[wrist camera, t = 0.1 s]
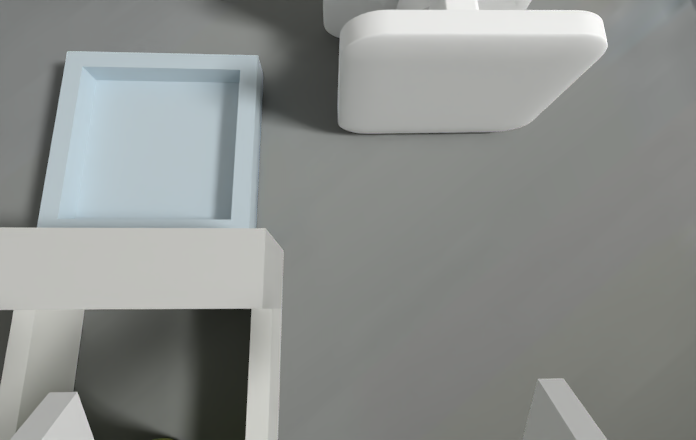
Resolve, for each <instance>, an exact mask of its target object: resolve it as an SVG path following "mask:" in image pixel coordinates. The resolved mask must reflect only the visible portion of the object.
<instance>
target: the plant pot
mask: <svg viewBox="0 0 696 440" xmlns="http://www.w3.org/2000/svg"><path fill="white" fill-rule="evenodd" d="M153 440H173V439H170V438H160V439H153Z"/></svg>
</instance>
